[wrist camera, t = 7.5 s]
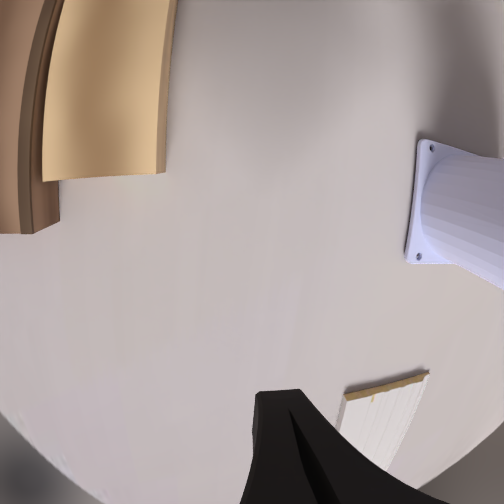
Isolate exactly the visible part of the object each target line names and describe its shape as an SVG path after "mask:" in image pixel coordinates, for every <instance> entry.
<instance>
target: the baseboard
mask: <svg viewBox="0 0 504 504" xmlns="http://www.w3.org/2000/svg"><path fill="white" fill-rule="evenodd" d="M429 376H430V373H429V372H427V373H424V374H420V375H417V376H414V377H411V378H407V379H404V380H400V381H397V382H393V383H389V384H385V385H382V386H378V387H374V388H369V389H365V390H361V391H356V392H352V393H347V394H343V398H342V403H341V407H340V411H339V416H338V420H337V424H336V428H335V429H336V430H337V431H338V432H339V433H340V434H341V435H342V436H343V437H344V438H345V439H346V440H347V441H348V442H349V443H350V444H352V445H353V446H354V447H355V448H356V449H357V450H358V451H360V452H361V453H362V454H363V455H364V456H365V457H367V458H368V459H369V460H370V461H372V462H373V463H374V464H376V465H377V466H378V467H380V468H381V469H383V470H384V471H386V470H387V468H388V467H389V465H390V463H391V461H392V459H393V457H394V455H395V454H396V452H397V450H398V448H399V446H400V444H401V442H402V440H403V438H404V436H405V433H406V431H407V429H408V427H409V425H410V423H411V420H412V418H413V416H414V414H415V411H416V409H417V407H418V404H419V402H420V399H421V397H422V394H423V392H424V389H425V386H426V384H427V381H428V378H429Z"/></svg>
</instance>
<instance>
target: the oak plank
mask: <svg viewBox="0 0 504 504" xmlns="http://www.w3.org/2000/svg"><path fill="white" fill-rule="evenodd" d="M177 4H178V0H65V1H64V5H63V8H62V12H61V16H60V20H59V24H58V28H57V32H56V36H55V41H54V46H53V51H52V57H51V62H50V68H49V75H48V82H47V90H46V99H45V110H44V124H43V147H42V177H43V182H45V181H55V180H65V179H76V178H89V177H103V176H120V175H142V174H159V173H164V172H165V156H166V124H167V104H168V89H169V76H170V64H171V53H172V44H173V35H174V26H175V19H176V11H177Z"/></svg>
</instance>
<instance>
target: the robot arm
mask: <svg viewBox="0 0 504 504" xmlns="http://www.w3.org/2000/svg"><path fill="white" fill-rule="evenodd" d="M430 145H431V148H432V149H431V151H430V149H429V147H430ZM418 253H419V256H418V257H417V258H416V256H417V254H418ZM405 260H406V261H407V262H408V263H411V264H457V265H458V266H460V267H462V268H464V269H466V270H468V271H470V272H472V273H474V274H475V275H477V276H479V277H481V278H483V279H485V280H486V281H488V282H490V283H492V284H494V285H495V286H497V287H499V288H501V289H503V290H504V159H500V158H490V157H481V156H478V155H476V154H473V153H470V152H467V151H464V150H461V149H458V148H455V147H452V146H449V145H445V144H442V143H439V142H435V141H432V140H428V139H421V140H419V142H418V145H417V161H416V174H415V185H414V194H413V203H412V211H411V218H410V225H409V232H408V238H407V244H406V250H405ZM252 435H253V459H252V463H251V468H250V472H249V476H248V479H247V483H246V486H245V489H244V492H243V495H242V498H241V501H240V504H449V503H446V502H444V501H441V500H438V499H436V498H433V497H431V496H429V495H427V494H425V493H423V492H420V491H418V490H416V489H414V488H412V487H410V486H408V485H407V484H405V483H403V482H401V481H400V480H398V479H396V478H395V477H393V476H392V475H390V474H389V473H387V472H386V471H384V470H383V469H381V468H380V467H378V466H377V465H376V464H374V463H373V462H372V461H370V460H369V459H368V458H367V457H365V456H364V455H363V454H362V453H361V452H360V451H358V450H357V449H356V448H355V447H354V446H353V445H352V444H350V443H349V442H348V441H347V440H346V439H345V438H344V437H343V436H342V435H341V434H340V433H339V432H338V431H337V430H336V429H335V428H334V427H333V426H332V425H331V424H330V423H329V422H328V421H327V420H326V418H325V417H324V416H323V415H322V414H321V413H320V412H319V411H318V410H317V408H316V407H315V406H314V405H313V404H312V403H311V401H310V400H309V399H308V398H307V397H306V395H305V394H304V393H303V392H302V391H301V390H300V389H291V390H277V391H260V392H258V393H257V394H256V395H255V406H254V417H253V428H252Z"/></svg>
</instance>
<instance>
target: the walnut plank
mask: <svg viewBox="0 0 504 504" xmlns="http://www.w3.org/2000/svg"><path fill="white" fill-rule="evenodd" d="M64 1H65V0H0V234H13V233H21V234H34V233H36V232H38V231H40V230H42V229H44V228H46V227H48V226H51V225H53V224H55V223H57V222H59V221H60V218H59V197H58V180H55V181H45V182H43V177H42V147H43V124H44V110H45V99H46V90H47V82H48V75H49V68H50V62H51V57H52V51H53V46H54V41H55V36H56V32H57V28H58V24H59V20H60V16H61V12H62V8H63V5H64Z"/></svg>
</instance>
